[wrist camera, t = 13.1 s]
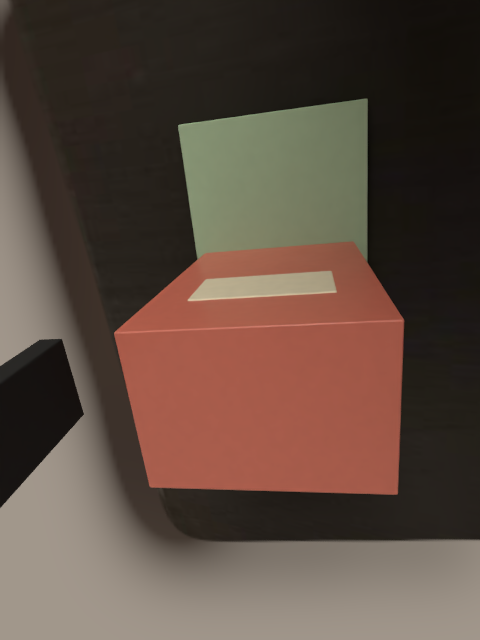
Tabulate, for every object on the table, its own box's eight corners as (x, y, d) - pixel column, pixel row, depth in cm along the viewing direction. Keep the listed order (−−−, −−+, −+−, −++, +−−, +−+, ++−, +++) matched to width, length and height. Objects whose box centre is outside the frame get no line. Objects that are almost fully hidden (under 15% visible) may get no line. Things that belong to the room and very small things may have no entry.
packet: (204, 251, 19) (112, 330, 10) (354, 239, 18) (405, 317, 9) (217, 347, 21) (149, 489, 12) (354, 342, 20) (398, 496, 11)
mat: (182, 126, 18) (177, 124, 17) (365, 100, 17) (367, 98, 16) (224, 423, 24) (222, 431, 23) (364, 423, 22) (367, 431, 22)
